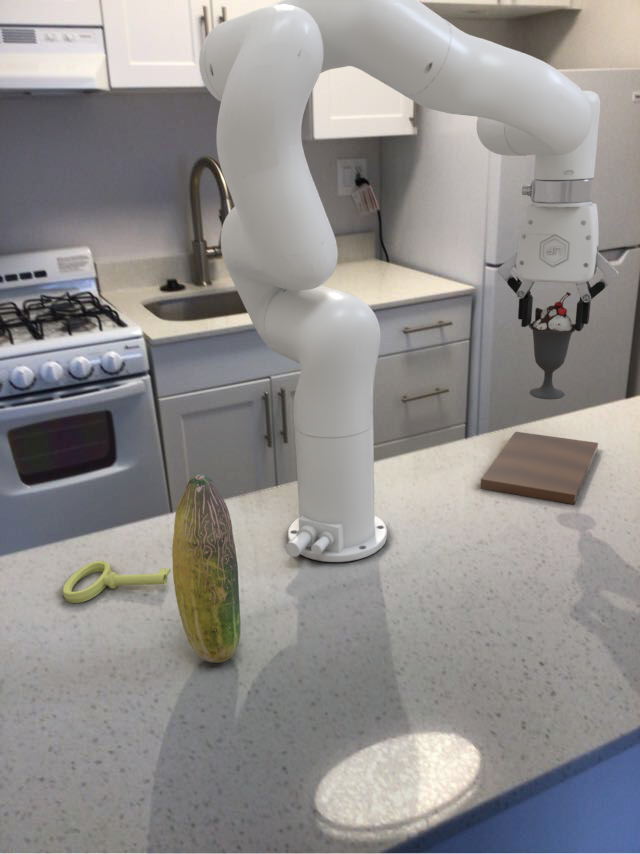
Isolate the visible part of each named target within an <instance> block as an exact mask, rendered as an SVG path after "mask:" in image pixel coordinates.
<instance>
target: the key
mask: <svg viewBox="0 0 640 854" xmlns="http://www.w3.org/2000/svg"><path fill="white" fill-rule="evenodd" d="M98 572H100V573H102V574H100V576H99V577H98V579H96V580H95V581H94V582H93V583H92V584H91V585H89V586H88V587H86V588H84V589H81V590H77V591H73V589H74V587H75V585H76V584H77V583H78V582H79V581H80V580H82V579H83V578H86V576H88V575H91V574H93V573H98ZM170 574H171V568H170V567H167V568H165V567H161V568H160V569H159V571H158V572H157V573H143V574H141V573H140V574H118V573H117V572H116V571H112V567H111V564H110V563H109V562H108V561H105V560H97V561H92V562H90V563H88V564H86V565H83V566H82V567H80V568H79V569H78V570H77V571H75V572H74V573H73V574H72V575H71V576H70V577H69V578H68V579H67V581H66V582H65V583H64V585H63V586H62V587H63V588H62V596H63V597H64V599H65V600H66V601H67V602H68V603H70V604H72V603H73V604H78V603H84V602H87V601H89V600H91V599H93V598H94V597H96V596H98V595H99V594H100V593H101V592H103V590H104V589H105V588H106V587H109V588H110V589H111V590H115V589H117V588H118V586H148V585H149V586H151V585H152V586H153V585H167V583H168V576H169V575H170Z"/></svg>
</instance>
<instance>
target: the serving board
mask: <svg viewBox="0 0 640 854" xmlns="http://www.w3.org/2000/svg"><path fill="white" fill-rule="evenodd" d="M598 448H599V442H595V441H589V440H588V441H587V440H580V439H574V438H566V437H559V436H552V435H545V434H536V433H529V432H522V431H514V432H513V434H512V436H511V437H510V438H509V439H508V441H507V442H506V443H505V445H504V446H503V448H502V449H501V451H500V452H499V453H498V454H497V456H496V458H495V459H494V460H493V462H492V463H491V465H490V466H489V467H488V468H487V470H486V471H485V472H484V474H483V476H482V477H481V478H480V489H483V490H487V491H488V490H489V491H493V492H494V491H495V492H500V493H505V494H511V495H516V496H523V497H527V498H528V497H529V498H535V499H540V500H546V501H552V502H556V503H557V502H558V503H564V504H570V505H575V504H576V501H577V499H578V497H579V495H580V492H581V490H582V487H583V485H584V484H585V481H586V478H587V476H588V474H589V471H590V469H591V467H592V464H593V462H594V460H595V458H596V456H597V453H598Z"/></svg>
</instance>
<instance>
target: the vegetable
mask: <svg viewBox="0 0 640 854" xmlns="http://www.w3.org/2000/svg"><path fill="white" fill-rule="evenodd" d="M229 511H230V510H229V508H228V506H227V504H226V502H225V499H224V498H223V496H222V495H221V494H220V492H219V491H218V489H217V487H216V485H215V483H214V481H213V480H212V479H211V477H210V476H208V475H206V474H204V473H199V474H195V475H193V476H192V477H190V479H189V480H188V482H187V484H186V487H185V490H184V491H183V494H182V496H180V499H179V500H178V503H177V506H176V511H175V516H174V524H173V538H172V546H171V557H172V578H173V585H174V594H175V598H176V604H177V608H178V612H179V617H180V620H181V624H182V628H183V630H184V634H185V636H186V639H187V641H188V644H189V646H190V647H191V649H192V650H193V652H194V653H195V654H196V655H197V656H198V657H199V658H201V659H202V660H203V661H206V662H208V663H215V664H220V663H224V662H227V661H229V659H231V658H232V657H233V656H234V655H235V653H236V651H237V650H238V649H239V648H238V647H239V644H240V641H241V606H240V605H241V603H240V588H239V586H240V585H239V567H238V557H237V550H236V544H235V539H234V531H233V524H232V519H231V516H230V512H229Z"/></svg>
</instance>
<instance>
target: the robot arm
mask: <svg viewBox="0 0 640 854" xmlns="http://www.w3.org/2000/svg"><path fill="white" fill-rule="evenodd" d="M198 64H199V65H198V66H199V72H200V77H201V79H202V82H203V83H204V86H205V88H206V89H207V90H208V92H209V93H210V94H211V95H212V96H213V98H215V99H216V100H217V101H218V102H220V105H219V110H218V114H217V115H218V116H217V124H216V137H215V138H216V139H215V140H216V151H217V158H218V162H219V167H220V170H221V173H222V175H223V178H224V182H225V184H226V186H227V188H228V191H229V194H230V197H231V199H232V202H233V204H234V207H232V208H231V210H230V211H229V212H228V214H227V215H226V217H225V218H224V221H223V224H222V227H221V231H220V249H221V254H222V259H223V262H224V264H225V268H226V270H227V272H228V274H229V277H230V279H231V281H232V283H233V285H234V287H235V289H236V292H237V293H238V295H239V297H240V300H241V301H242V304H243V306H244V308H245V310H246V312H247V314H248V316H249V319H250V320H251V323H252V325H253V326H254V329H255V330H256V333H257V334H258V335H259V337H260V339H261V340H262V341H263V343H264V344H265V345H266V346H267V347H268V348H269V349H270V350H272V351H274V352H275V353H277V354H279V355H280V356H282V357H284V358H287V359H289V360H291V361H293V362H295V363H297V364H299V367H300V371H299V377H298V381H297V384H296V388H295V390H294V391H295V392H294V397H293V409H292V410H293V428H294V443H295V444H294V445H295V460H296V461H295V463H296V479H297V480H296V481H297V499H298V500H297V501H298V502H297V503H298V517H297V518H296V519H295V520H294V521H293V522H291V524H290V525H289V527H288V530H287V541H288V542H287V543H286V545H285V552H286V553H287V555H288V556H290V557H292V558H297V557H299V556H300V555H301V556H303V557H305V558H308V559H310V560H314V561H319V562H327V563H346V562H352V561H353V562H354V561H357V560H361V559H364V558H367V557H370V556H371V555H373V554H375V553H377V552H378V551H380V550H381V549H382V548H383V547H384V545H385V544H386V542H387V539H388V529H387V526H386V523H385V522H384V520H382V519H381V518H380V517H379V516H377V515H376V513H375V457H374V456H375V447H374V445H375V442H374V441H375V440H374V439H375V438H374V435H375V434H374V433H375V432H374V430H375V429H374V388H375V376H376V371H377V365H378V359H379V356H380V355H379V354H380V349H381V341H382V339H381V338H382V337H381V327H380V322H379V320H378V318H377V314H376V313H375V312H374V310H373V309H372V308H371V306H369V305H368V304H367V303H366V302H365V300H363V299H362V298H360V297H357V296H356V295H354V294H352V293H349V292H347V291H343V290H339V289H336V288H334V287H333V288H332V287H330V286H324V284H325V283H326V282H328V281H329V280H330V279H331V277H332V276H333V275H334V273H335V271H336V269H337V264H338V258H339V251H338V245H337V239H336V236H335V233H334V231H333V229H332V225H331V223H330V220H329V217H328V216H327V213H326V210H325V207H324V205H323V202H322V199H321V197H320V194H319V191H318V189H317V187H316V184H315V181H314V179H313V176H312V173H311V171H310V167H309V164H308V162H307V158H306V155H305V151H304V145H303V139H302V125H303V120H304V114H305V110H306V107H307V104H308V101H309V98H310V96H311V94H312V92H313V90H314V88H315V86H316V84H317V82H318V80H319V78H320V75H321V74H322V73H324V72H327V71H330V70H335V69H340V68H346V67H353V68H355V69H358V70H360V71H362V72H363V73H365V74H367V75H369V76H370V77H372V78H374V79H376V80H377V81H379V82H380V83H382V84H384V85H386V86H387V87H389V88H391V89H392V90H394V91H396V92H397V93H398V94H399V93H400V94H401V95H403V96H404V97H406V98H408V99H409V100H411V101H412V102H414V103H416V104H417V105H419V106H421V107H423V108H426V109H428V110H433V111H437V112H440V113H444V114H451V115H459V116H468V117H477V118H476V133H477V137H478V139H479V141H480V144H481V145H483V147H484V148H486V149H487V150H488V151H490V152H491V153H494V154H496V155H500V156H509V157H513V156H514V157H515V156H516V157H519V156H520V157H522V156H523V157H525V156H534V171H533V180H532V181H531V182H530V183H528V184H523V185H522V187H521V195H522V196H528V197H530V200H531V201H532V203H529V204H526V205H525V207H524V211H523V215H522V220H521V225H520V231H519V238H518V245H517V251H516V252H515V253H514V254H513V255H512V256H511V257H510V258H508V259H507V260H506V261H505V262H503V264H501V265H500V266H499V267H498V268H497V272H498V274H499V275H500V277H502V279H503V280H504V281H506V283H507V285H508V287H509V288H510V289H511V290H512V291H513V293H515V295H516V298H518V310H517V315H518V316H517V319H518V320H520V321H521V324H520V327H522V328H526V327H529V326H528V324H529V323H532V319H533V318H532V317H533V316H532V315H533V303H534V302H533V301H534V296H533V295H532V292H531V290H532V288H533V287H534V285H535V283H536V282H537V283H554V284H555V283H556V284H557V283H558V284H575V286H576V289H577V291H578V294H579V296H580V297H579V301H577V303H576V312H575V323H574V324H575V332H581V331H582V330H583V329H584V327H585V325H588V324H589V321H590V312H591V304H592V303H591V301H592V300H593V299H594V298H595V297H596V296H597V295H599V294H600V293H601V292H603V290H605V288H607V287H608V286H609V285H610V284H611V283H612V282H613V281H615V280H616V279H617V278H618V276H619V274H620V273H619V270H617V268H615V266H614V265H612V263H611V262H609V260H608V259H606V258H605V256H603V255H602V254H601V252H599V242H600V241H599V239H600V238H599V232H600V231H599V230H600V228H599V227H600V226H599V213H598V212H599V211H598V205H597V203H593V196H594V195H593V193H594V183H595V182H594V181H595V171H596V170H595V169H596V160H597V148H598V137H599V136H598V135H599V125H600V113H601V99H600V96H599V94H597V92H595V91H593V90H582V89H581V88H580V87H579V85H577V84H576V83H575V82H574V81H573V80H572V79H570V78H569V77H568V76H566V75H565V74H563V73H562V72H561V71H559V70H558V69H557V68H555V67H553V66H552V65H550V64H549V63H548V62H545V61H543V60H541V59H539V58H537V57H535V56H533V55H530V54H527V53H524V52H522V51H519V50H517V49H513V48H510V47H506V46H504V45H501V44H499V43H495V42H493V41H490V40H488V39H485V38H481V37H477V36H475V35H471V34H469V33H466V32H465V31H464V30H463V31H462V30H461V29H459V28H458V27H456V26H455V25H453V24H452V23H451V22H450V21H448V20H447V19H445V18H443V17H442V16H440V15H439V14H438V13H436V12H434V10H432V9H430V8H429V7H428V6H427V5H425V4H424V3H422V2H421V1H419V0H278V1H276V2H274V3H272V4H269V5H266V6H263V7H260V8H258V9H256V10H255V9H254V10H253V11H249V12H248V13H245V14H242V15H239V16H237V17H233V18H231V19H227V20H225V21H223V22H220V23H219V24H217V25H216V26H215V27H213V28H212V29H211V30H210V31H209V33H208V34H207V35H206V36H205V38H204V40H203V43H202V44H201V48H200V51H199V58H198ZM514 267H515V272H516V275H515V273H514V271H513V269H514ZM597 269H599V270H600V271H601V272H602V273H603V276H602V277H601V278H600V279H599V280H598V281H597V282H596V283H594V284H593V285H592V284H591V282H590V280H591V279H592V278H593V277H594V276H595V275H596V273H597Z"/></svg>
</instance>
